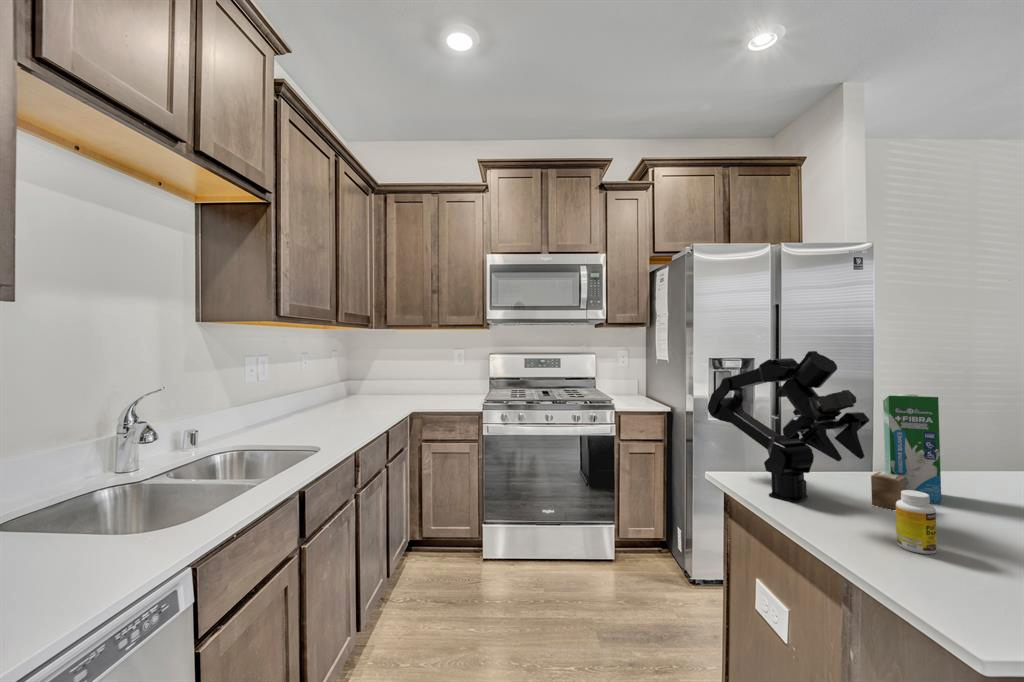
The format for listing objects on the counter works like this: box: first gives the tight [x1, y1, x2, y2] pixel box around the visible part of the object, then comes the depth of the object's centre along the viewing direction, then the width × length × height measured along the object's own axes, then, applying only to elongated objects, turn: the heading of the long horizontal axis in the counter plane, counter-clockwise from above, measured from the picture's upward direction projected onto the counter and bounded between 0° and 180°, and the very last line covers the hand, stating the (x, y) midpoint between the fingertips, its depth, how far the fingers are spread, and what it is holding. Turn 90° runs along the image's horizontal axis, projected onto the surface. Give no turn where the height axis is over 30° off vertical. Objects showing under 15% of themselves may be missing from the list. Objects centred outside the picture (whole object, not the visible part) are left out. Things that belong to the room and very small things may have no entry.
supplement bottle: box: [895, 490, 937, 555], centre depth 84 cm, size 6×6×10 cm
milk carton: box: [882, 393, 942, 504], centre depth 112 cm, size 9×9×25 cm
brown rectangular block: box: [870, 471, 906, 511], centre depth 105 cm, size 5×5×7 cm
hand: (851, 459), depth 96 cm, fingers open, 6 cm apart
